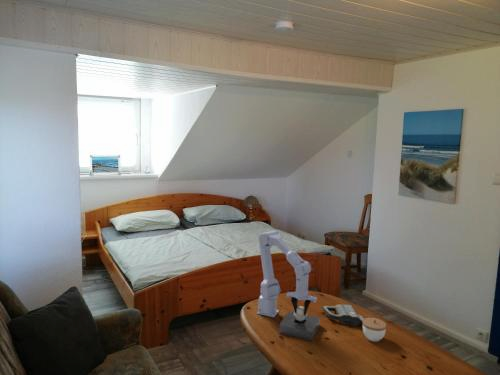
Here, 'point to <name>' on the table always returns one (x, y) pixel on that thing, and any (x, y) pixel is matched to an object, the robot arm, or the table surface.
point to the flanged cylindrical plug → (300, 313)
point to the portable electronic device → (344, 314)
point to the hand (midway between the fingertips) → (300, 313)
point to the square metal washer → (299, 326)
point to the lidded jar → (374, 329)
